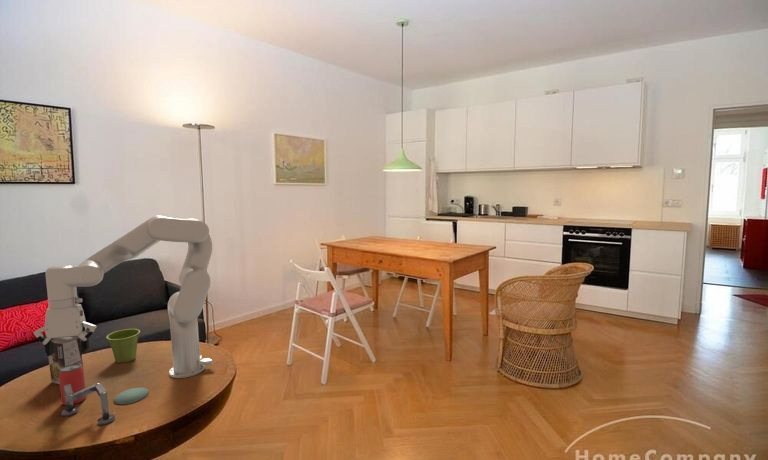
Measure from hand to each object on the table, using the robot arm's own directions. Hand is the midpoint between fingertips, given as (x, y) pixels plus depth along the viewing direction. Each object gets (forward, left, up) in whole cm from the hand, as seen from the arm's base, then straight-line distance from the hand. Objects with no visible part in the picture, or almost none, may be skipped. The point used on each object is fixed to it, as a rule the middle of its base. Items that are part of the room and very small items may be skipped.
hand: (67, 352), depth 133 cm
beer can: (0, 0, -17) cm, 17 cm away
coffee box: (+9, -18, -17) cm, 27 cm away
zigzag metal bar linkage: (-9, +12, -17) cm, 23 cm away
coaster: (-18, +3, -17) cm, 25 cm away
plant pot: (-6, -32, -17) cm, 37 cm away
